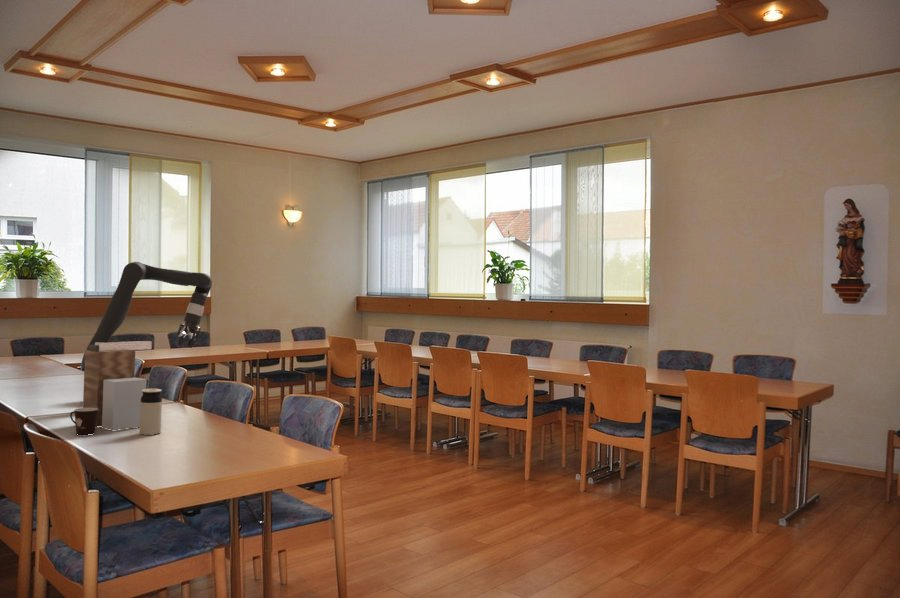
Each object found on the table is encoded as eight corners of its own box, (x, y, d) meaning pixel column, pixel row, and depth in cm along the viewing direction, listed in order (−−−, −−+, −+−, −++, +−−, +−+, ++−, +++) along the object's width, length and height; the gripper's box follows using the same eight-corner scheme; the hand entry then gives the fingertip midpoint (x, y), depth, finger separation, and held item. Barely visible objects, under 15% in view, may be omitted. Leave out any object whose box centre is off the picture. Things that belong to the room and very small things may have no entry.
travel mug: (152, 436, 278) (154, 391, 278) (135, 434, 280) (136, 390, 280) (164, 432, 286) (166, 389, 286) (147, 431, 287) (149, 388, 287)
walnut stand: (96, 427, 290) (99, 346, 290) (82, 423, 297) (85, 344, 297) (132, 423, 303) (135, 345, 303) (118, 419, 310) (121, 343, 310)
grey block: (112, 431, 284) (114, 381, 284) (101, 428, 290) (103, 379, 290) (144, 426, 296) (146, 379, 296) (133, 424, 301) (135, 377, 301)
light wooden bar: (98, 351, 295) (99, 343, 295) (94, 350, 297) (95, 342, 297) (151, 349, 314) (151, 341, 314) (147, 348, 316) (147, 341, 316)
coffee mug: (100, 434, 277) (101, 409, 277) (77, 437, 271) (78, 411, 271) (90, 430, 285) (90, 406, 285) (67, 432, 279) (68, 408, 279)
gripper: (179, 310, 334) (169, 342, 331) (195, 313, 325) (185, 346, 322) (192, 314, 339) (182, 346, 337) (209, 317, 331) (199, 349, 328)
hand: (184, 346), depth 329 cm, fingers open, 8 cm apart
